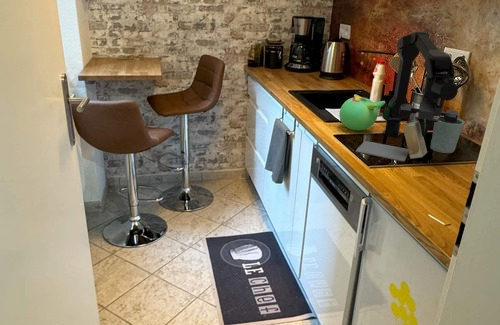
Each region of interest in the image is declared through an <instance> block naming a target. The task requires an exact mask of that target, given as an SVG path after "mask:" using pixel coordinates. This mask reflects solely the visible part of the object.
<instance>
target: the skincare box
mask: <svg viewBox="0 0 500 325" xmlns="http://www.w3.org/2000/svg"><path fill="white" fill-rule="evenodd" d="M402 130H403V135H404V137H405V142H406V145H407V149H408V151H409V154H408V156H409V159H419V158H423V157H424V156H425V155H426V154H427V153H428V151H427V146H426V142H425V137H423V136H422V132H421V126H420V123H419V121H418V120H417V121H413V122H408V123H406V124H405V125H403V126H402Z"/></svg>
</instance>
